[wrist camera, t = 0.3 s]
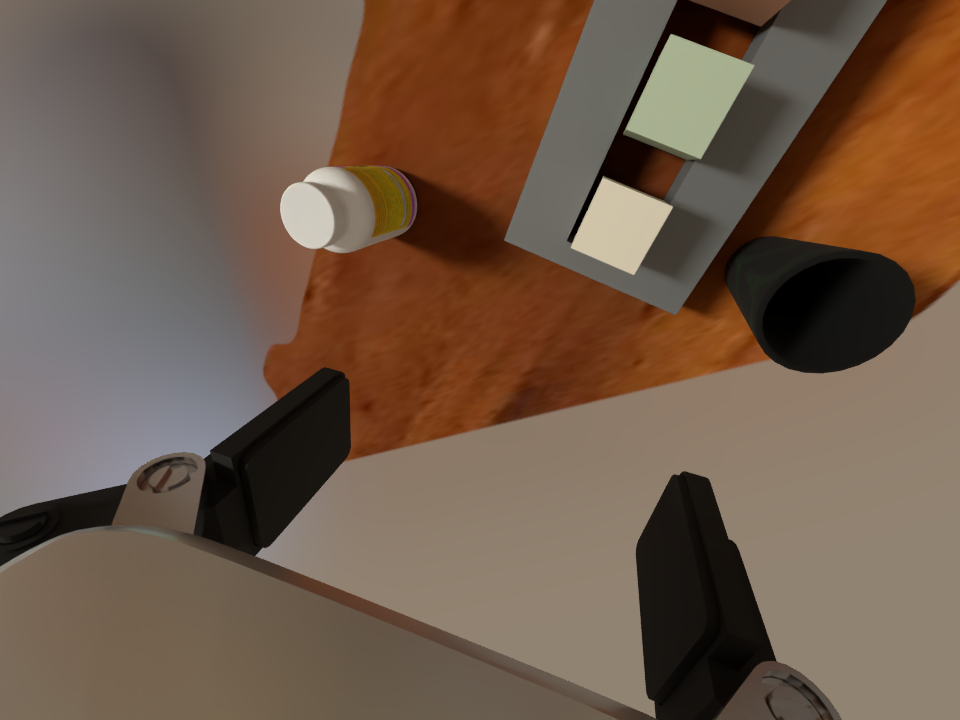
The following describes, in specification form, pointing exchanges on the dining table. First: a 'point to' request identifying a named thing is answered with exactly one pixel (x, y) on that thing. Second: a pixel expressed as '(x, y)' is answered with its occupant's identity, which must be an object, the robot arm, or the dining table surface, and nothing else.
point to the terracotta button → (746, 8)
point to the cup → (819, 302)
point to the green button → (686, 98)
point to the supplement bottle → (348, 207)
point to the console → (701, 182)
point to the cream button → (620, 225)
